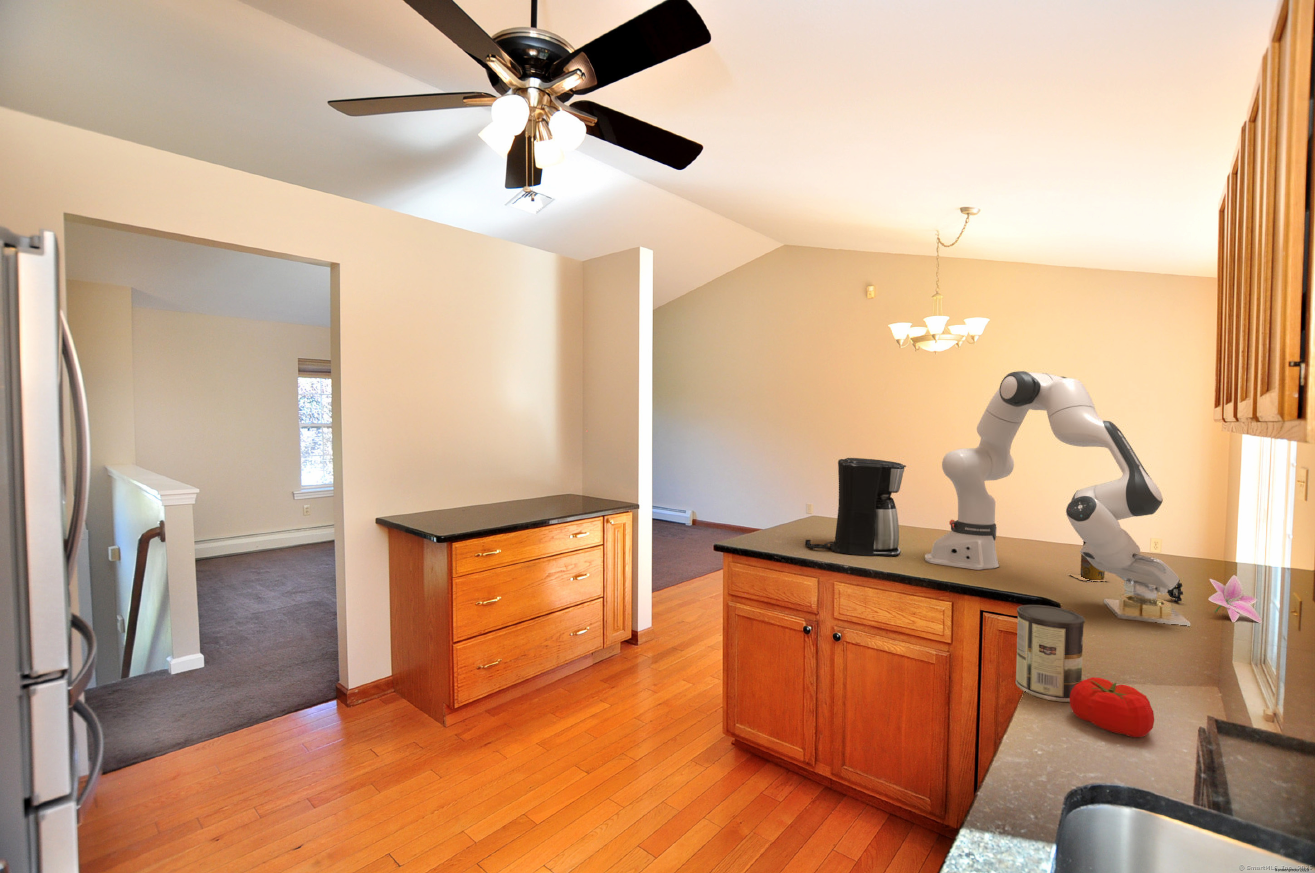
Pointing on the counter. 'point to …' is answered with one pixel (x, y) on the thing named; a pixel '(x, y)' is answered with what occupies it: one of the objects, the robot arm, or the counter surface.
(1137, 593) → the black-capped jar
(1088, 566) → the condiment
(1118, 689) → the tomato
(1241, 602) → the lily
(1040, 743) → the counter surface
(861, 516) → the coffee maker
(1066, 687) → the coffee can
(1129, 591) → the valve
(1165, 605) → the flange
